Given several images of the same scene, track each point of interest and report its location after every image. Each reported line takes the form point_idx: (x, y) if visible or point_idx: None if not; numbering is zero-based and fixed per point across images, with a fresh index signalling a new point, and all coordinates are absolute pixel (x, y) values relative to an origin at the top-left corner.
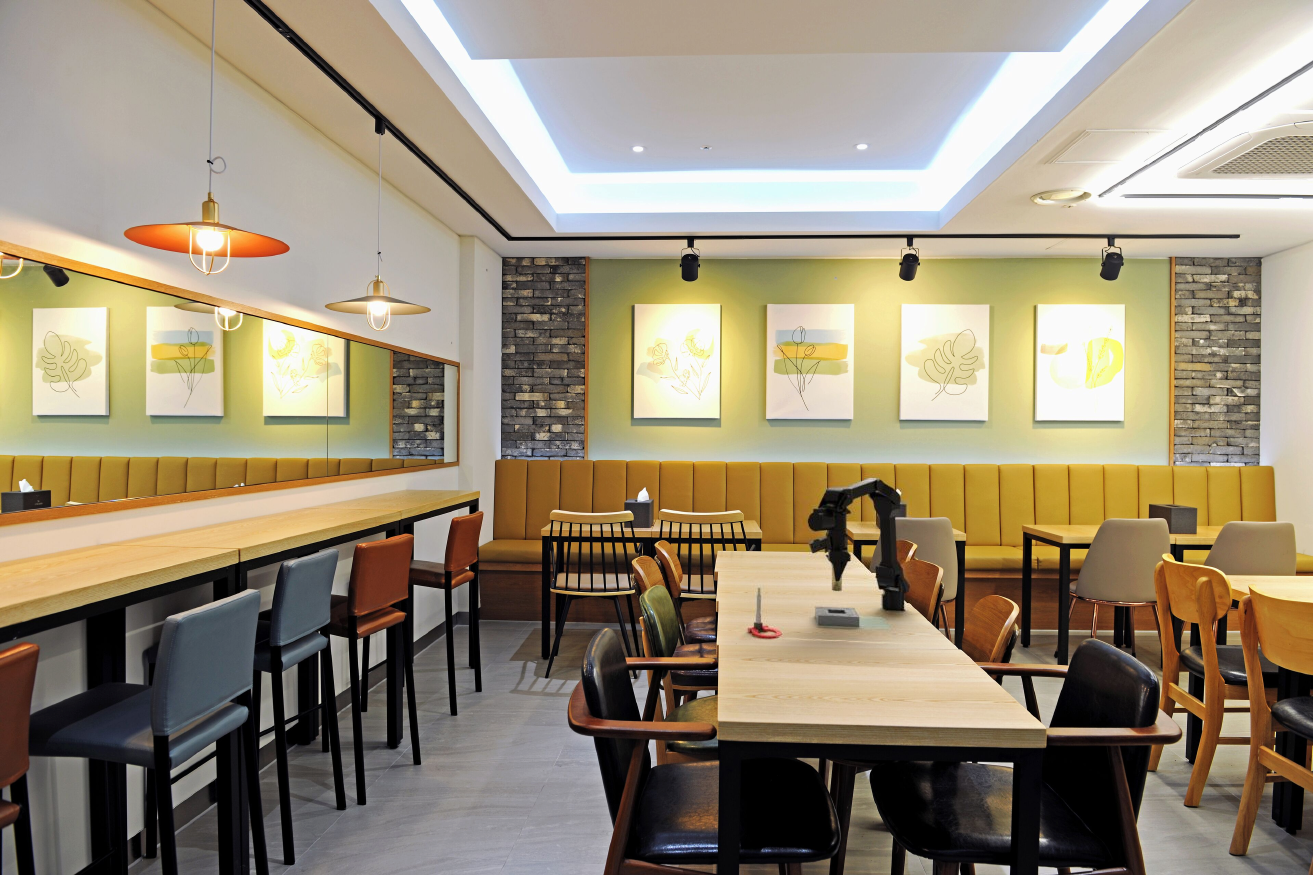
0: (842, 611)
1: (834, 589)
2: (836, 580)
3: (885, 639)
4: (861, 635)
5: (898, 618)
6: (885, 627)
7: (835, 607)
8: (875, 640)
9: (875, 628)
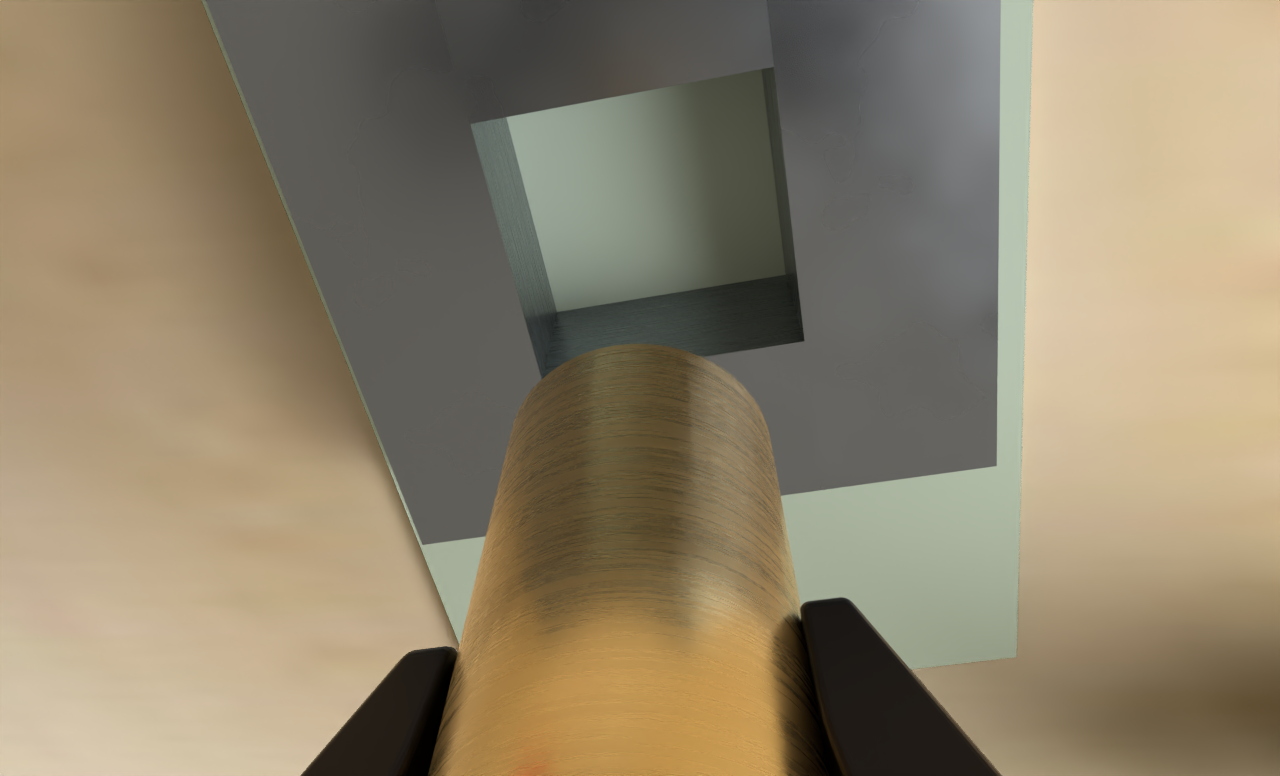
0: (798, 306)
1: (511, 435)
2: (408, 683)
3: (135, 666)
4: (144, 483)
5: (1048, 752)
6: None
7: (972, 195)
8: (35, 598)
9: (466, 602)
